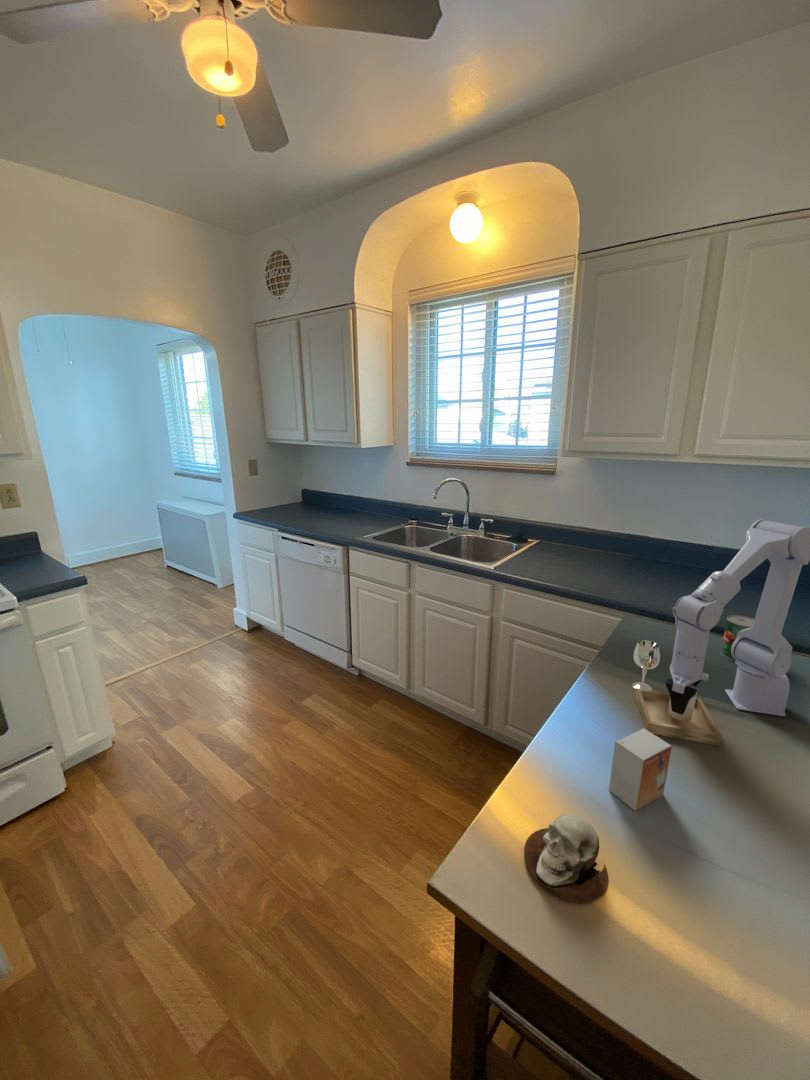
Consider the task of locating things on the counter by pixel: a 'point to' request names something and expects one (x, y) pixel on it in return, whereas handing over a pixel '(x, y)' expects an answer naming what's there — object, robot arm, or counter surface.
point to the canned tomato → (734, 632)
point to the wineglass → (646, 659)
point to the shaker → (689, 709)
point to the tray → (662, 723)
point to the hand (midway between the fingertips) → (680, 707)
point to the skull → (567, 859)
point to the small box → (639, 768)
